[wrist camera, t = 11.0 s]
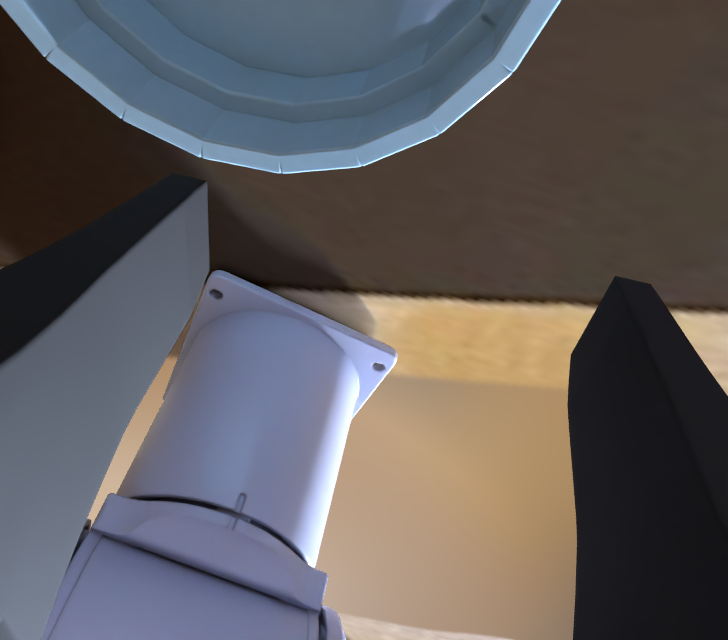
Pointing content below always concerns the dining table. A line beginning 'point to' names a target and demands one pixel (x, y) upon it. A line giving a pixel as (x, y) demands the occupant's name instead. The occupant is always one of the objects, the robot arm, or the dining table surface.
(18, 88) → the dining table surface
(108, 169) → the dining table surface
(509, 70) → the bowl
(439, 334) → the dining table surface
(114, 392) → the robot arm
